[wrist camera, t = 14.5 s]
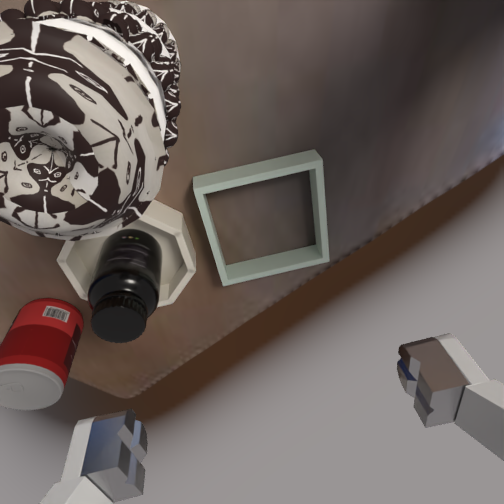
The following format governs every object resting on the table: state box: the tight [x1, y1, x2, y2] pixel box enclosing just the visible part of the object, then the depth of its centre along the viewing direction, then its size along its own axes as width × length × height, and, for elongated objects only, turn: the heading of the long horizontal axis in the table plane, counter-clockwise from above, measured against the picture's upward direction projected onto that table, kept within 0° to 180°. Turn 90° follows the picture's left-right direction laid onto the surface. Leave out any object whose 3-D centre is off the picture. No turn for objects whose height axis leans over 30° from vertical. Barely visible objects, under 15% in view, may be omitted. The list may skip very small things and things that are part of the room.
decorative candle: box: [0, 0, 181, 241], centre depth 22 cm, size 9×9×25 cm
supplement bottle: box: [87, 229, 162, 343], centre depth 38 cm, size 7×7×12 cm
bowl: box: [56, 199, 196, 307], centre depth 42 cm, size 14×14×4 cm
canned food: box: [0, 298, 83, 410], centre depth 44 cm, size 8×8×11 cm
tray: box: [193, 149, 330, 286], centre depth 43 cm, size 14×14×3 cm
